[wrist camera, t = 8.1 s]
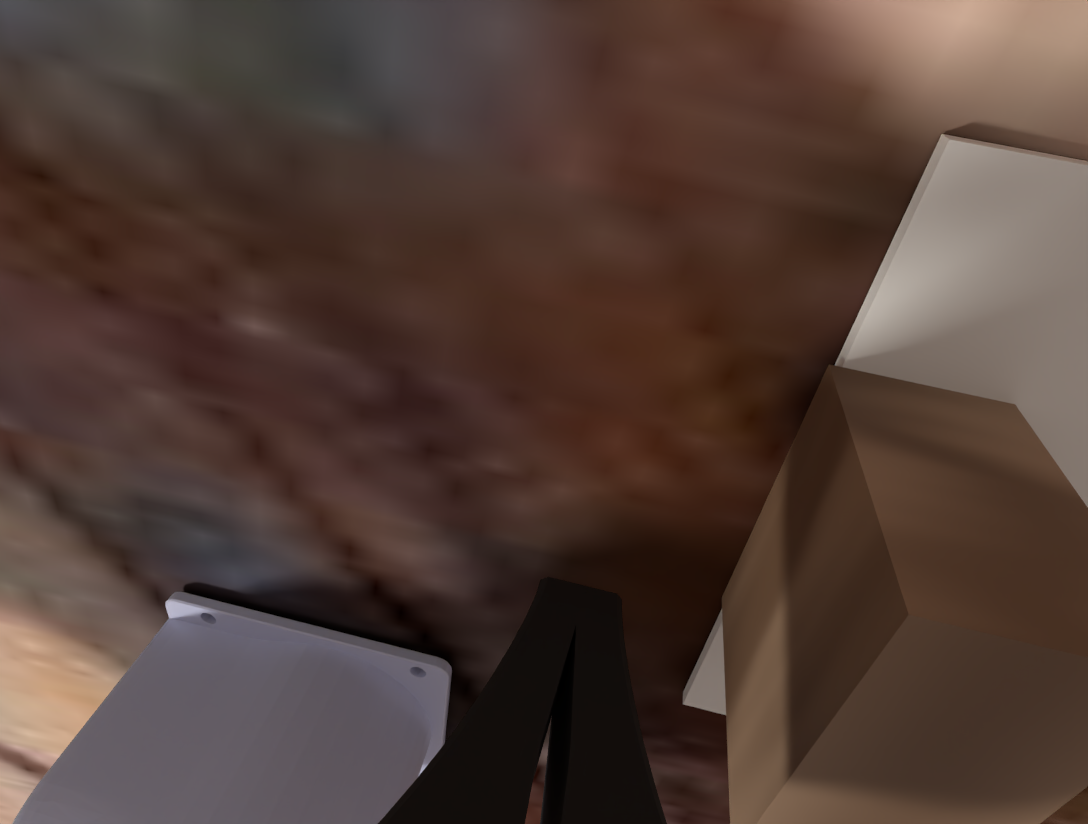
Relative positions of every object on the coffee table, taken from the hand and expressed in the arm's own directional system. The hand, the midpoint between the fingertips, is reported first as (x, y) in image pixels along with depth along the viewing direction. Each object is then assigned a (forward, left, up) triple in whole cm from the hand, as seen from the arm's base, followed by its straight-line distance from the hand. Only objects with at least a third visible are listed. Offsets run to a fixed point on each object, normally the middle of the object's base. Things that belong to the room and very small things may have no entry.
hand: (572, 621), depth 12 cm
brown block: (+5, 0, -4) cm, 7 cm away
